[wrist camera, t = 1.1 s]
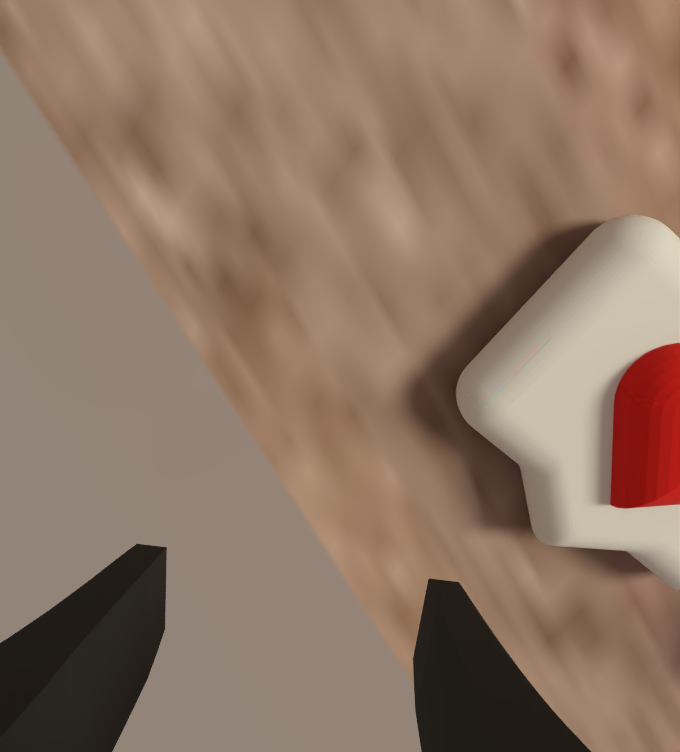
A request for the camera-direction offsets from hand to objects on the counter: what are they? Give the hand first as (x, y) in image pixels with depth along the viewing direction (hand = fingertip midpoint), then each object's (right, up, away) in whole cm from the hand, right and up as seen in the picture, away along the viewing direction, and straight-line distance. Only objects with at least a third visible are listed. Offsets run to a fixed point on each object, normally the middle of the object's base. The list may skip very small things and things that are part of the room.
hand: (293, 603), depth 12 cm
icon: (+11, +3, +9) cm, 15 cm away
